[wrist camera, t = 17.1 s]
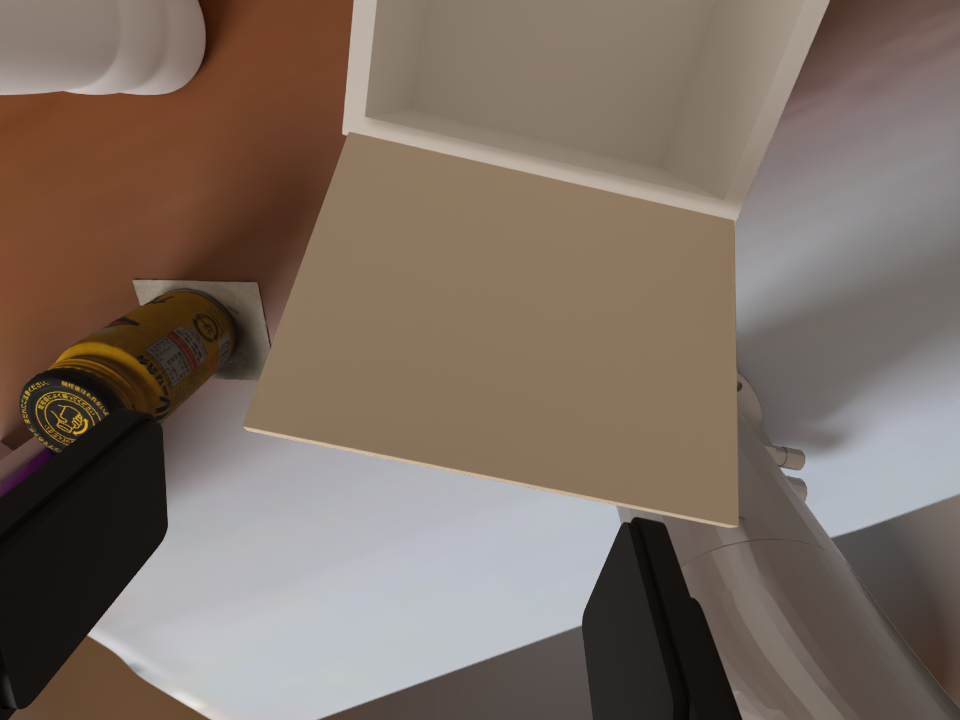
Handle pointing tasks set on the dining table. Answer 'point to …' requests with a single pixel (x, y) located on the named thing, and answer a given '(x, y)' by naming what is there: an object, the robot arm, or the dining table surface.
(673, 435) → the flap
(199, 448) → the dining table surface
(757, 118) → the carton
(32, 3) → the water bottle
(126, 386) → the condiment
